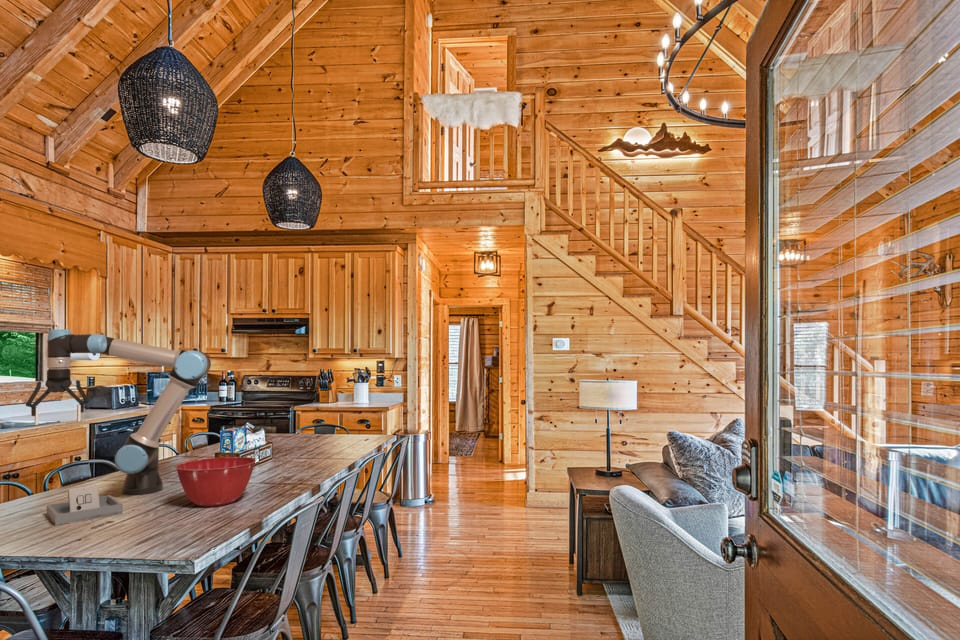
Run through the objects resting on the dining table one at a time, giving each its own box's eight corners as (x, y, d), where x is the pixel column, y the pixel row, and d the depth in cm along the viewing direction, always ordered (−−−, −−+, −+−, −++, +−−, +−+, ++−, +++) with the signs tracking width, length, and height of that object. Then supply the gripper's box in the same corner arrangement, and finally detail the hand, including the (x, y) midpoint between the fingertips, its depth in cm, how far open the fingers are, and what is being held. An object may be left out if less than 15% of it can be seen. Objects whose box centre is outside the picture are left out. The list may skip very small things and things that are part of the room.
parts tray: (109, 504, 228) (110, 495, 228) (122, 513, 214) (122, 504, 214) (46, 514, 214) (46, 505, 215) (55, 525, 200) (55, 515, 200)
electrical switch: (70, 515, 208) (70, 489, 209) (65, 515, 212) (65, 488, 213) (100, 510, 216) (99, 484, 217) (95, 509, 219) (94, 483, 220)
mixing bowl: (199, 493, 242) (199, 456, 243) (267, 493, 241) (267, 455, 242) (159, 512, 214) (159, 470, 215) (236, 512, 213) (236, 469, 214)
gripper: (19, 369, 220) (18, 426, 219) (97, 367, 237) (97, 420, 236) (17, 369, 226) (16, 425, 224) (94, 367, 243) (93, 419, 242)
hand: (57, 422), depth 230 cm, fingers open, 13 cm apart
